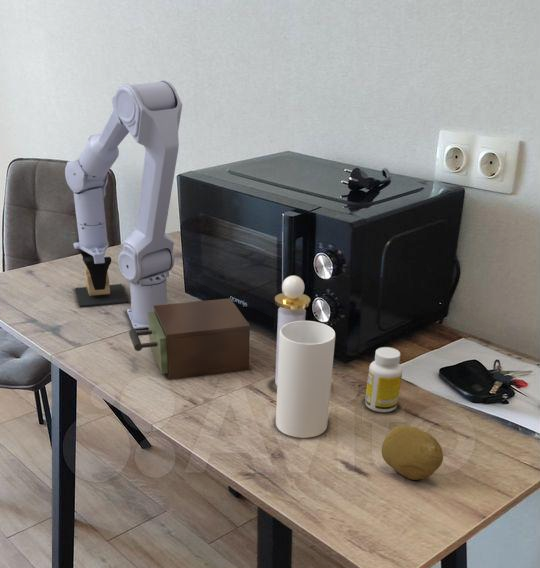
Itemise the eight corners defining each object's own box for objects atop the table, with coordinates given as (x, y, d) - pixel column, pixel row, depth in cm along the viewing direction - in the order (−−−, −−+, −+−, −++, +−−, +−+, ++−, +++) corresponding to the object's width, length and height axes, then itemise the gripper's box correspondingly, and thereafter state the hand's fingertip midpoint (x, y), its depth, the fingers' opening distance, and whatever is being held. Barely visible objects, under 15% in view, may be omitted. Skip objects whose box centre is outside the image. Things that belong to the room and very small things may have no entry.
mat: (75, 289, 155) (75, 288, 155) (121, 285, 158) (121, 284, 158) (80, 307, 147) (79, 305, 147) (128, 302, 150) (127, 301, 150)
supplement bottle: (403, 405, 118) (411, 352, 113) (384, 417, 115) (392, 363, 109) (377, 393, 121) (384, 341, 116) (358, 404, 118) (364, 352, 112)
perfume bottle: (311, 389, 122) (319, 278, 111) (283, 397, 119) (289, 285, 108) (291, 375, 125) (297, 267, 114) (264, 383, 123) (268, 273, 112)
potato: (376, 461, 104) (383, 415, 100) (426, 460, 105) (435, 415, 100) (386, 490, 98) (393, 443, 94) (439, 489, 99) (449, 442, 95)
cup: (300, 404, 117) (306, 316, 108) (337, 424, 112) (347, 333, 103) (264, 422, 112) (268, 330, 103) (302, 444, 107) (309, 349, 98)
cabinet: (169, 379, 123) (167, 334, 118) (155, 348, 133) (153, 305, 128) (249, 369, 127) (250, 325, 122) (230, 339, 137) (230, 298, 132)
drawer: (138, 376, 121) (135, 341, 118) (128, 348, 130) (125, 314, 127) (236, 364, 126) (236, 330, 122) (219, 338, 135) (219, 305, 131)
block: (86, 288, 153) (84, 269, 150) (106, 286, 154) (105, 267, 151) (89, 296, 149) (87, 276, 147) (110, 293, 150) (108, 274, 148)
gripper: (66, 212, 148) (74, 274, 155) (75, 233, 136) (83, 299, 144) (100, 210, 150) (106, 271, 157) (112, 231, 139) (118, 296, 146)
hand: (97, 284), depth 151 cm, fingers closed on block, 4 cm apart
